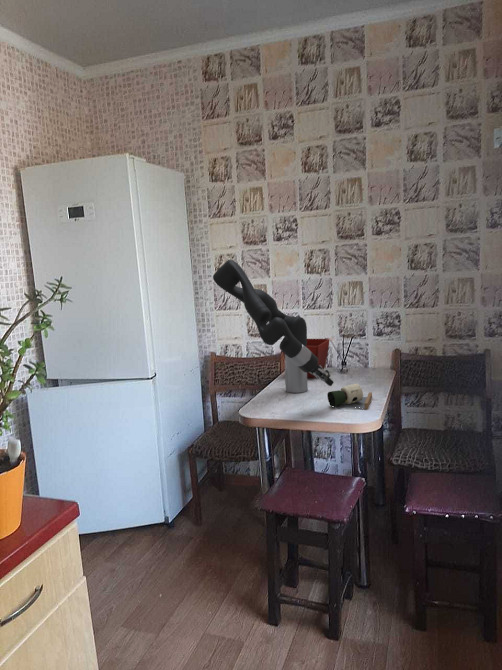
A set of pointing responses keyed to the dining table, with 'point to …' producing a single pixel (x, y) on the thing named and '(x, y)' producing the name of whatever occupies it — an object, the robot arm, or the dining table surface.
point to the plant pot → (318, 351)
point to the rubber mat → (358, 403)
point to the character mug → (345, 395)
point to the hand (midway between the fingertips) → (331, 383)
